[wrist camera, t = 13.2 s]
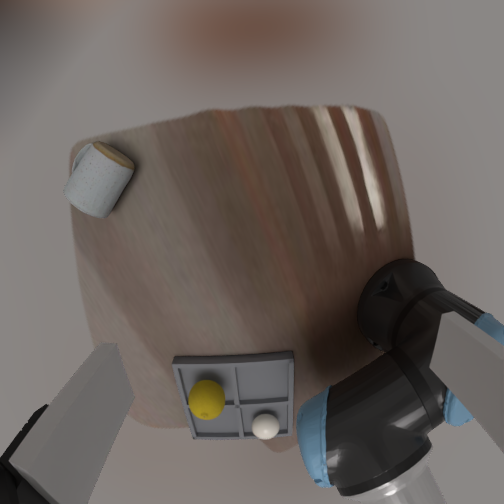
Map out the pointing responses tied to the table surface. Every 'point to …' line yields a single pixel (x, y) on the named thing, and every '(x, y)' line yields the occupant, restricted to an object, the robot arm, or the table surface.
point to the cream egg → (265, 426)
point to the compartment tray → (239, 392)
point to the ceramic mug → (98, 179)
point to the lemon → (206, 399)
